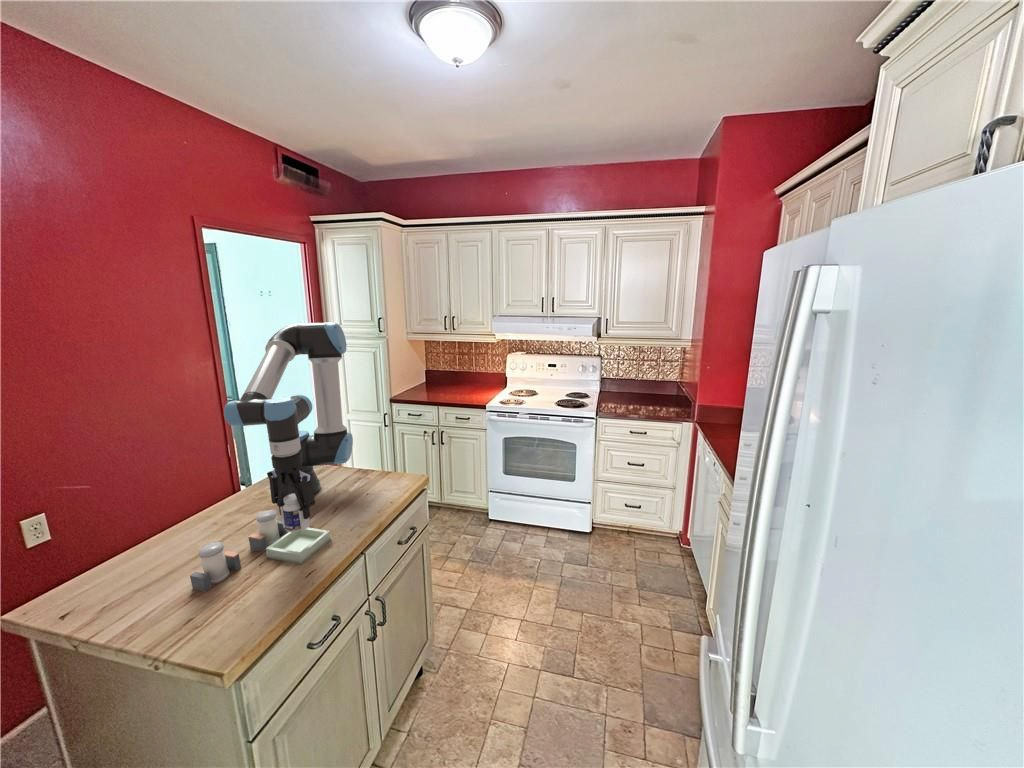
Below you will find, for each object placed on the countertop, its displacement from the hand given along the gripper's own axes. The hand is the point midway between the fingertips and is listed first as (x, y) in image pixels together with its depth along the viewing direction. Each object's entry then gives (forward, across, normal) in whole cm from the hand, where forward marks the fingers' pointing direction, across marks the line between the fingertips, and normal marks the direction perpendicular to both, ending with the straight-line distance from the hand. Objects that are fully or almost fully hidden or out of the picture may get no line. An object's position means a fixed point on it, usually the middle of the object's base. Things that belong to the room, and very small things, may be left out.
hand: (296, 526), depth 117 cm
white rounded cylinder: (+7, -12, -16) cm, 21 cm away
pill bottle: (+1, 0, 0) cm, 1 cm away
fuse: (+7, -12, +1) cm, 14 cm away
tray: (+7, 0, 0) cm, 7 cm away
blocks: (+7, -12, -7) cm, 16 cm away
